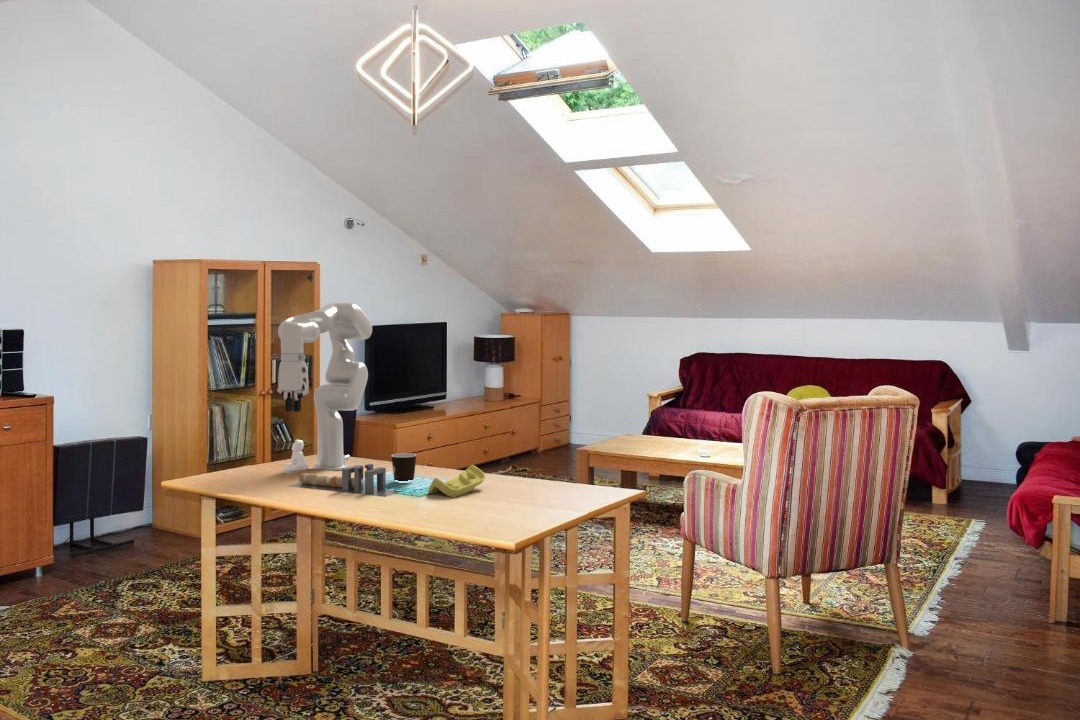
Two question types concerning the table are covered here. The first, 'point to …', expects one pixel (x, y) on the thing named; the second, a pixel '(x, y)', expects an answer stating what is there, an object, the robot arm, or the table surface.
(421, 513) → the table surface
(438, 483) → the plastic component
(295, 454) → the white creature statuette
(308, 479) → the dowel
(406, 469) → the coffee mug
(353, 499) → the table surface
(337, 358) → the robot arm
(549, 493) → the table surface
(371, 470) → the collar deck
